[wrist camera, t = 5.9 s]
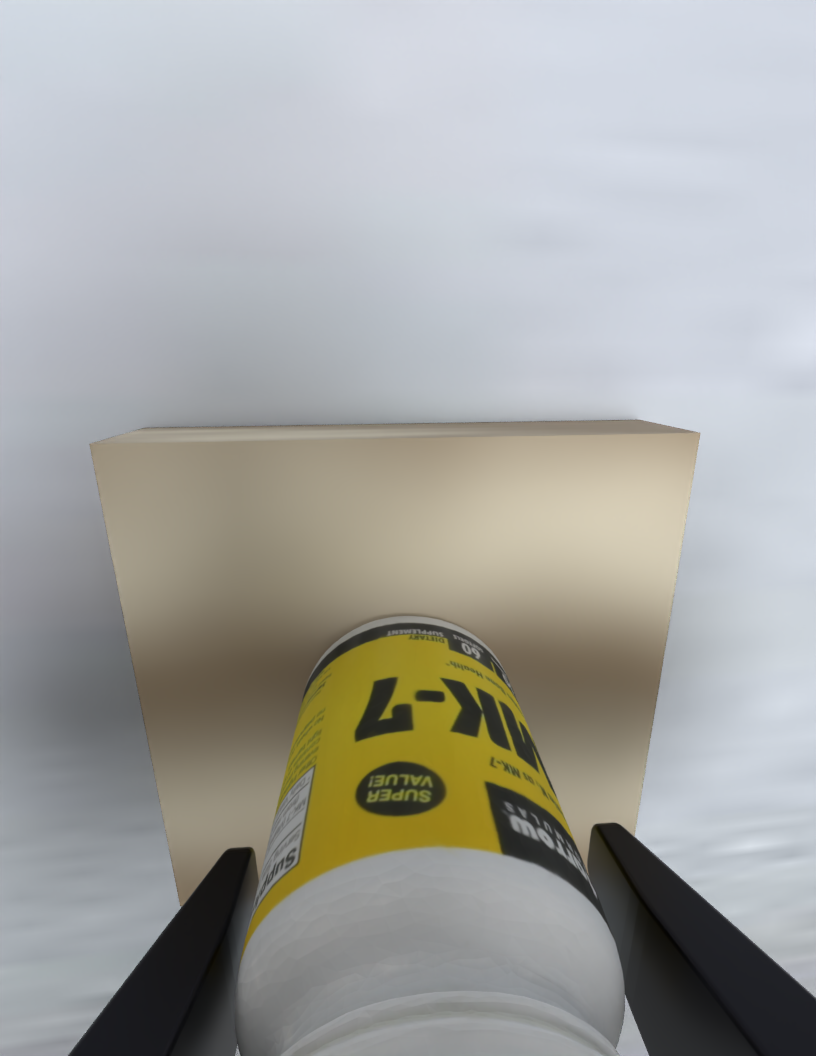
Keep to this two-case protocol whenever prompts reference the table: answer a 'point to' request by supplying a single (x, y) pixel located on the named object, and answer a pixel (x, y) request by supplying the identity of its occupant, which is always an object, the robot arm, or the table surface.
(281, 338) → the table surface
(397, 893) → the supplement bottle
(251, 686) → the birch base
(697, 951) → the robot arm
